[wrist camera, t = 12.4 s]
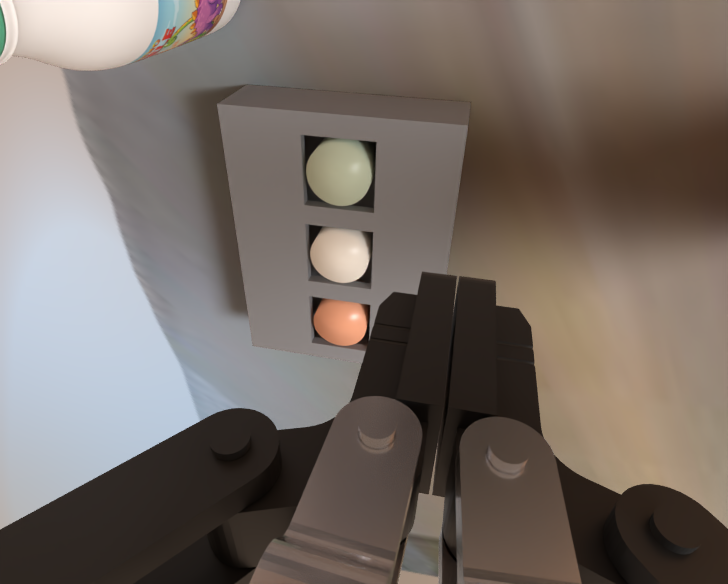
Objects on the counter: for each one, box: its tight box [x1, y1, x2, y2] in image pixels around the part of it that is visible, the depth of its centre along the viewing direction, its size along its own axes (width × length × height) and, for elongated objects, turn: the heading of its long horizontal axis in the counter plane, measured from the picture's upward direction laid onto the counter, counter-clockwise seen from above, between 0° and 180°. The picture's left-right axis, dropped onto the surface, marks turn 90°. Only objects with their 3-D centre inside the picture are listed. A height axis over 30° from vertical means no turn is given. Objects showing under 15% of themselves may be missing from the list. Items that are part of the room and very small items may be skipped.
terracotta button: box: [314, 279, 370, 346], centre depth 43 cm, size 4×4×4 cm
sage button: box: [306, 137, 377, 206], centre depth 35 cm, size 4×4×4 cm
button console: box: [217, 85, 471, 363], centre depth 39 cm, size 16×21×5 cm
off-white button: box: [310, 226, 373, 283], centre depth 39 cm, size 4×4×4 cm
